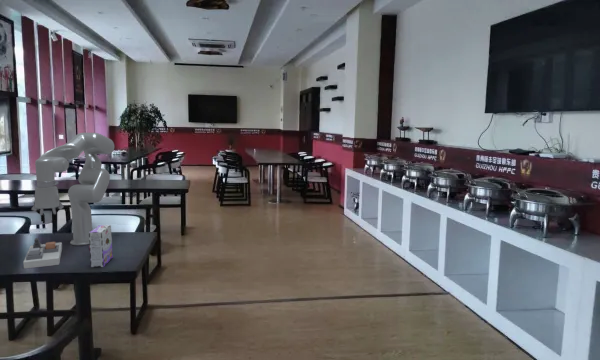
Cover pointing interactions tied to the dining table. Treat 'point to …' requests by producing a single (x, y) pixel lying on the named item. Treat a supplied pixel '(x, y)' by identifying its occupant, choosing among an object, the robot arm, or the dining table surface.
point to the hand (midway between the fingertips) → (48, 222)
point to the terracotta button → (50, 245)
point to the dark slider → (37, 243)
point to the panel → (44, 257)
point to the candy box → (100, 245)
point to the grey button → (34, 251)
